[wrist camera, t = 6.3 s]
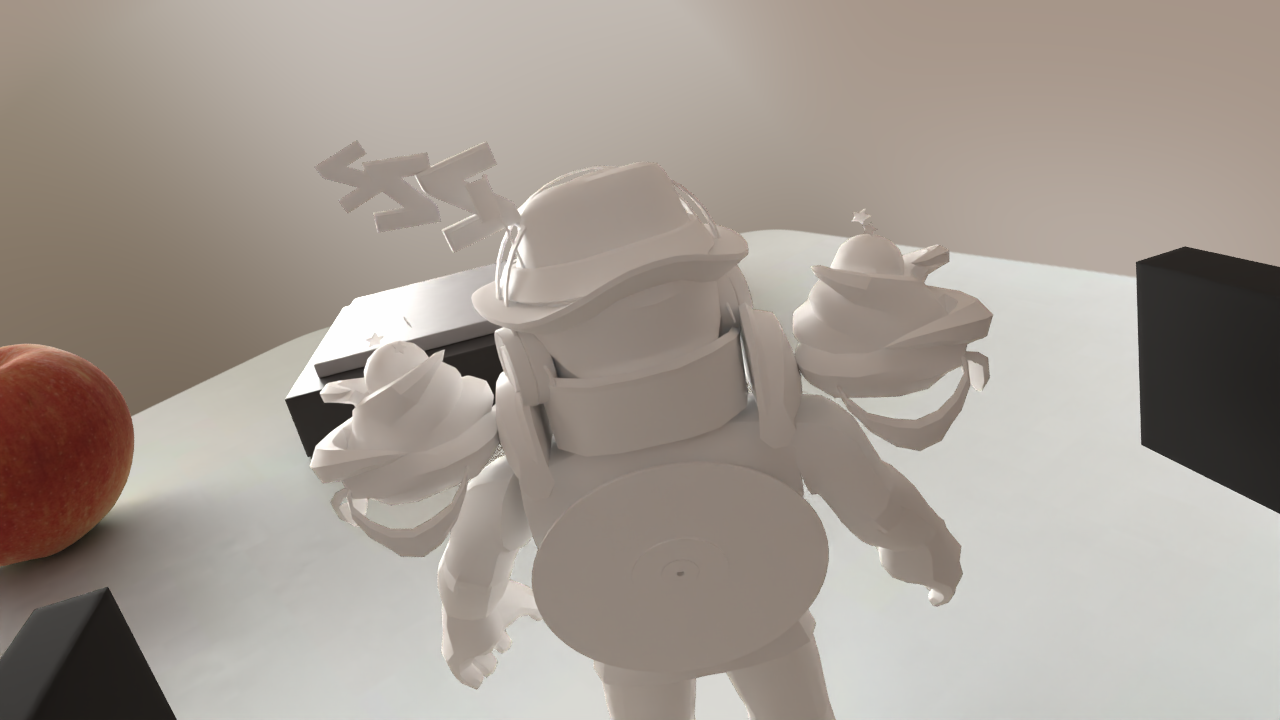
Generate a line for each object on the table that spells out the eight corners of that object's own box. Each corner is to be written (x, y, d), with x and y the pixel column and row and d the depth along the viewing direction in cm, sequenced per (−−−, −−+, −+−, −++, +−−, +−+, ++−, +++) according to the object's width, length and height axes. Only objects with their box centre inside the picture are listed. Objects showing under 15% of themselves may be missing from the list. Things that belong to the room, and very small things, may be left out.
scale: (619, 284, 47) (605, 228, 46) (658, 365, 35) (641, 291, 34) (359, 351, 47) (339, 296, 46) (307, 457, 34) (278, 384, 33)
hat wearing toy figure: (470, 979, 13) (138, 197, 9) (502, 774, 17) (274, 148, 13) (1075, 870, 13) (1013, -11, 9) (973, 682, 17) (896, -1, 12)
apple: (215, 475, 35) (128, 281, 32) (48, 605, 28) (-82, 371, 25) (58, 490, 37) (-34, 311, 34) (-132, 614, 30) (-268, 401, 27)
